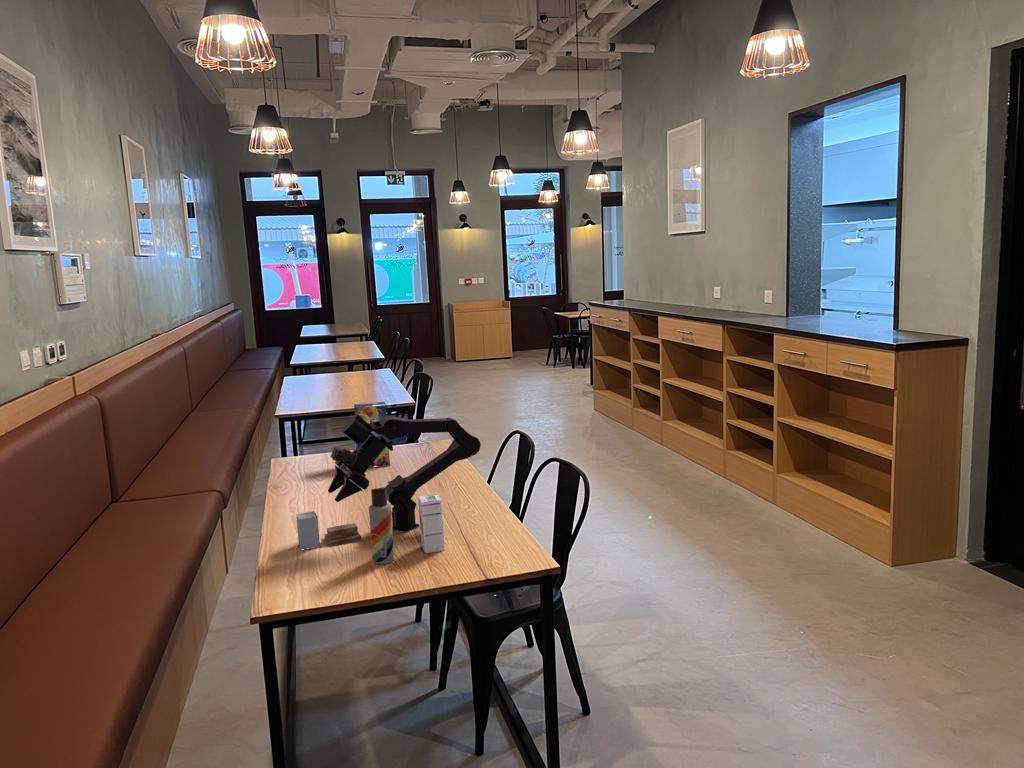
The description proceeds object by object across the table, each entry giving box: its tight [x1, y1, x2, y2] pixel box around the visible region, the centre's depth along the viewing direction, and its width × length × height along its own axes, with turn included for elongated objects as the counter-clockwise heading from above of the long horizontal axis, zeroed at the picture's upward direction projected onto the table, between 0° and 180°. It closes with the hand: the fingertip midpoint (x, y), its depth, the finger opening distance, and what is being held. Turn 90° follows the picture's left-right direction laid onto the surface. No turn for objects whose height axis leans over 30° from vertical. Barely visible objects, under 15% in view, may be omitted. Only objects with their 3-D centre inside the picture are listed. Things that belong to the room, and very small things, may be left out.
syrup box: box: [417, 494, 446, 554], centre depth 204 cm, size 6×6×14 cm
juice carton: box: [353, 401, 391, 468], centre depth 290 cm, size 12×8×24 cm, turn 104°
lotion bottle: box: [368, 486, 395, 565], centre depth 196 cm, size 6×6×20 cm
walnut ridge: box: [323, 522, 362, 547], centre depth 214 cm, size 9×7×4 cm
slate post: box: [295, 510, 321, 550], centre depth 210 cm, size 5×5×9 cm
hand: (332, 496), depth 211 cm, fingers open, 9 cm apart
